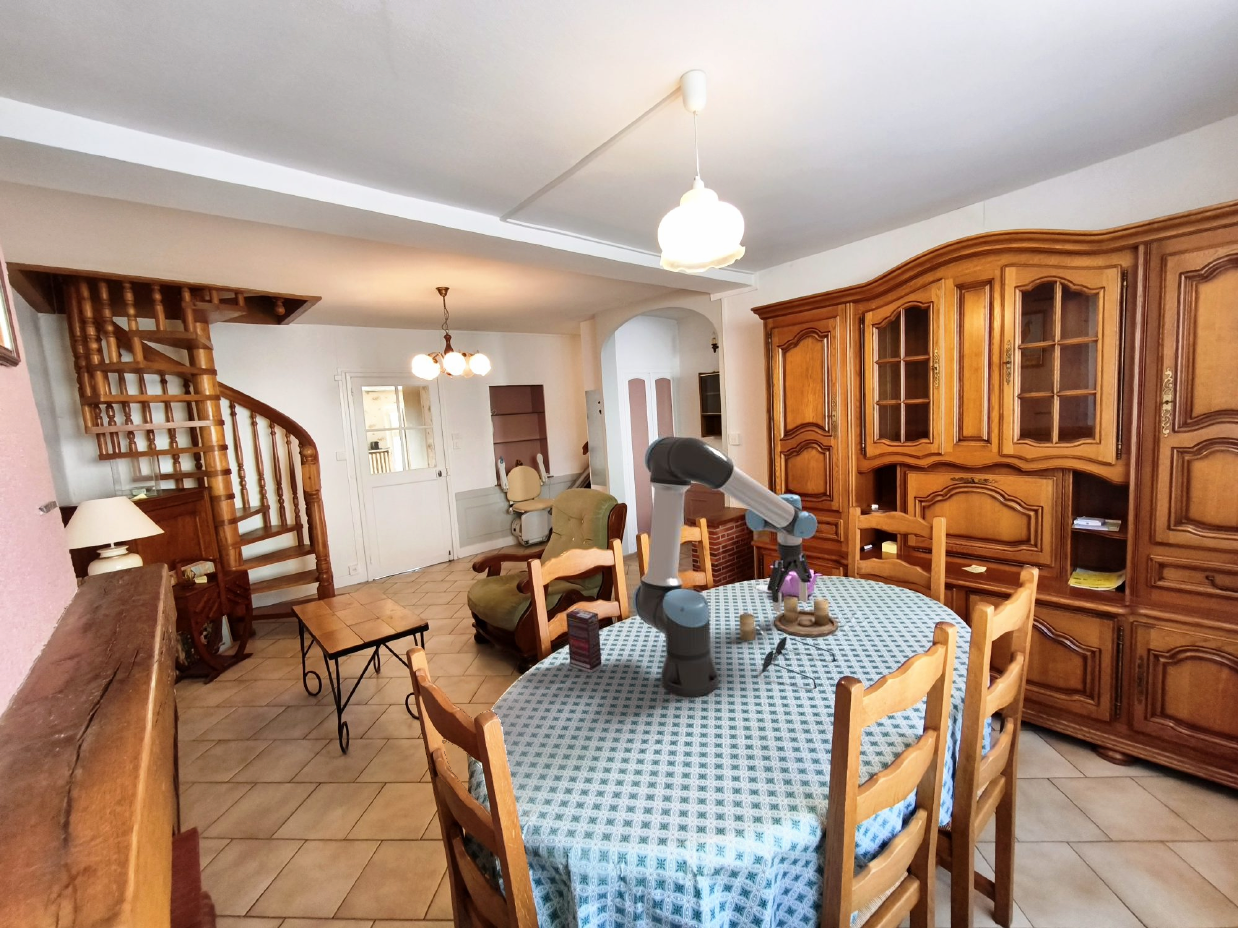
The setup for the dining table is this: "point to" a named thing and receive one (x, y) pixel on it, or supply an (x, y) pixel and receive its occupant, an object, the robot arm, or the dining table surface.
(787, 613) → the bead
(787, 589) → the teapot
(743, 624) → the bead
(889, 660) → the dining table surface
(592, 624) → the supplement box
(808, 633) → the tray
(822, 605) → the bead seated
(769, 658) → the sunglasses
